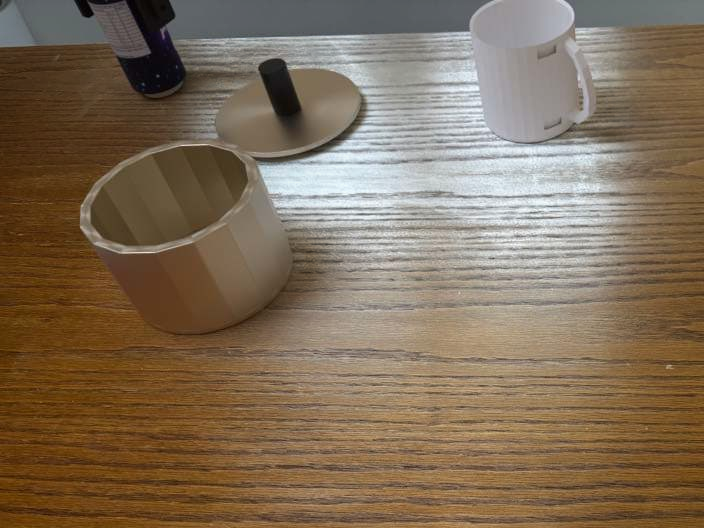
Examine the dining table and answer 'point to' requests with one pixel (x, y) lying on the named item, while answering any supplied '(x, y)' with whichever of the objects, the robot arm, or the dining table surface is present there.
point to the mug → (530, 69)
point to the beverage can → (140, 48)
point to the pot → (189, 235)
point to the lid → (288, 110)
